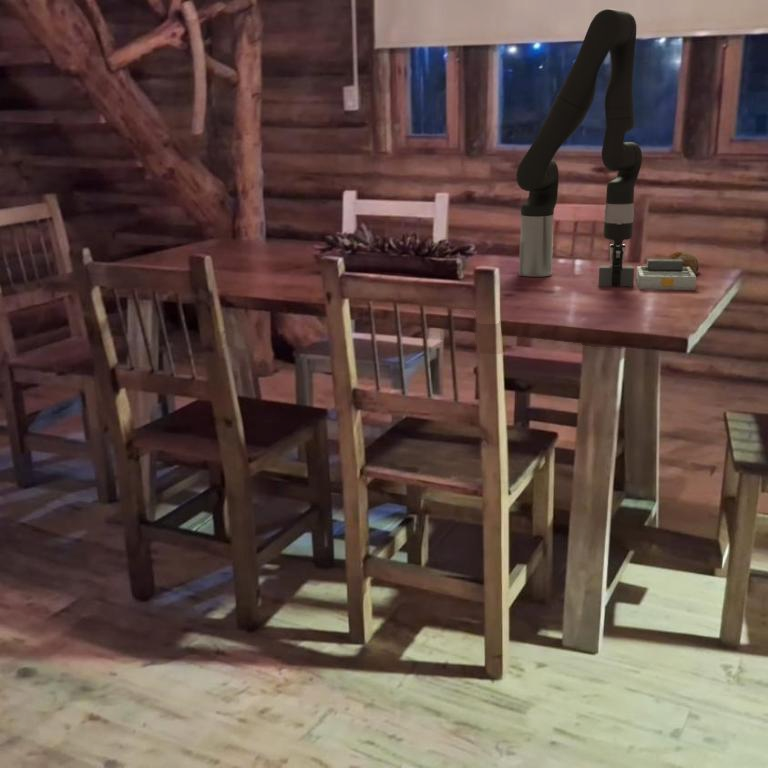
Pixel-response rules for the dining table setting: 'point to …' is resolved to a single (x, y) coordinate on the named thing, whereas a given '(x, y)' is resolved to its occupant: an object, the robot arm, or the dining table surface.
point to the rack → (665, 275)
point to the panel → (606, 275)
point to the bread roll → (686, 260)
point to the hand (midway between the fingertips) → (615, 283)
